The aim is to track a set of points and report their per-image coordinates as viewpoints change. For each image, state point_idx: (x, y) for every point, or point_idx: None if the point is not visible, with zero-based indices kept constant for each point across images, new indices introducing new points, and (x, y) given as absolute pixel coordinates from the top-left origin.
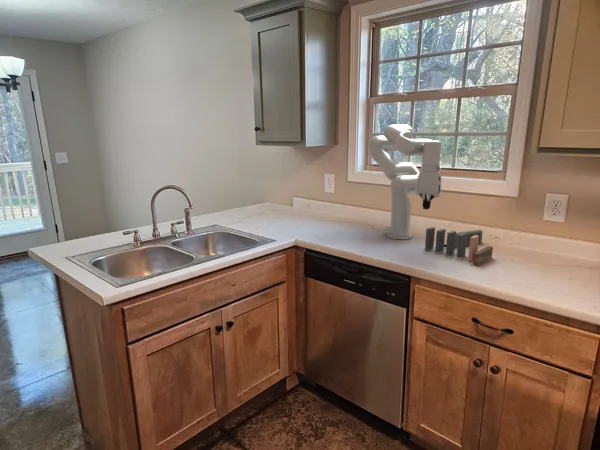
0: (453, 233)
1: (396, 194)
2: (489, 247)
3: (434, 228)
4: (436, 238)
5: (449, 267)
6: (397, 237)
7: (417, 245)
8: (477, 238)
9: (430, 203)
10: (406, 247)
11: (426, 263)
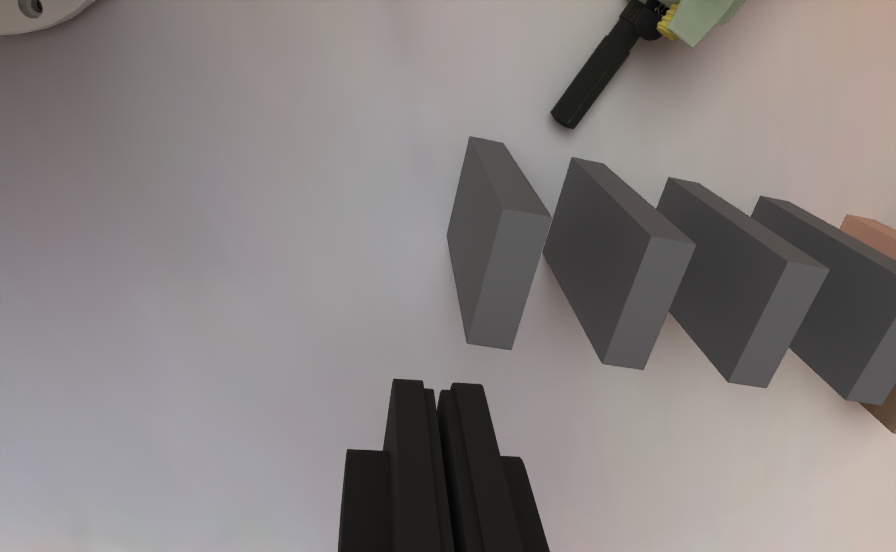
0: (789, 324)
1: None
2: None
3: (545, 227)
4: (580, 316)
5: (683, 488)
6: (25, 32)
7: (336, 134)
8: None
9: (541, 530)
10: (277, 255)
11: (543, 498)
